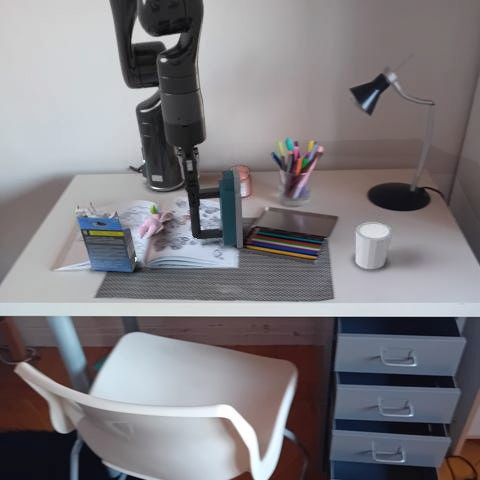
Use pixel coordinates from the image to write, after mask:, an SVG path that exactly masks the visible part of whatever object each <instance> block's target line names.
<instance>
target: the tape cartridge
mask: <svg viewBox="0 0 480 480" xmlns="http://www.w3.org/2000/svg"><path fill="white" fill-rule="evenodd" d="M76 220H77V222H78V227H79V231H80V233H81V236H82V239H83V240H82V241H83V242H84V246H85V249H86V252H87V255H88V259H89V263H90V266H91V269H92V271H107V272H119V273H120V272H122V273H133V272H134V271H135V269H136V267H137V266H138V263H139V262H138V260H137V261H136V262H135V257H137V252H136V247H135V244H134V238H133V235H132V231H131V228H130V227H122V225H121V221H120V219H119V218H118V219H113V218H92V217H88V216H85V217H83V216H76ZM97 222H100V223H99V224H105V225H94V224H98V223H97Z"/></svg>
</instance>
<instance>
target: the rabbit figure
mask: <svg viewBox="0 0 480 480" xmlns="http://www.w3.org/2000/svg"><path fill="white" fill-rule="evenodd" d="M164 212H165V211H162V210H161V211H160V210H158V208H156V205H155V204H153V205H152V206H151V208H150V214H151V217H148V218H146V219H147V220H144V221H143V223H142V225H143V226H142V225H141V226H140V227H138V229H137V234H138V235H137V236H138V238H139V239H140V240H142V239H143V238H144V236H145V235H146V239H147V240H149V239H150V238H151V237H152V235H154V236H155V235H156V234H155V233H156V232H157V231H158V230H159V229H160V227H161V224H163V223H161V222H160V221H159V220H160V218H161V216H162V214H163V213H164ZM152 217H153V218H152ZM146 232H147V233H146Z"/></svg>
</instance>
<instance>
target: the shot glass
mask: <svg viewBox="0 0 480 480" xmlns="http://www.w3.org/2000/svg"><path fill="white" fill-rule="evenodd" d="M392 237H393V229H392V228H391V227H390V226H389V225H387V224H385V223H381V222H377V221H367V222H363V223H361V224H358V225H357V226H356V228H355V263H356V264H357V266H358V267H360V268H363V269H365V270H378V269H380V268H382V267H384V265H385V263H386V259H387V256H388V252H389V248H390V244H391V240H392Z"/></svg>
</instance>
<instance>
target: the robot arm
mask: <svg viewBox="0 0 480 480" xmlns="http://www.w3.org/2000/svg"><path fill="white" fill-rule="evenodd" d="M108 1H109V6H110V10H111V15H112V20H113V26H114V33H115V41H116V47H117V53H118V60H119V66H120V71H121V76H122V79H123V81H124V84H125V86H126V87H127V88H128V89H130V90H142V89H151V88H157V89H156V91H155V92H154V93H153V94H152V95H151V96H150V97H148V98H146V99H144V100H142V101H140V102H139V103H138V104H137V105H136V106H135V110H134V111H135V116H136V122H137V127H138V132H139V137H140V143H141V148H140V149H141V155H142V161H143V164H141V165H140V166H139V167H137V168H136V167H134V166H132V165H129V169H130V170H132V171H134V172H140V171H141V173H142V177H144V178H146V182H147V184H148V188H149V189H150V190H152V191H155V192H170V191H174V190H177V189H180V188H181V187H183V186H184V185H185V186H184V189H185V191H186V194H187V201H188V208H189V207H190V208H196V207H199V208H200V207H201V199H200V198H199V189H201V186H200V184H199V178H200V177H201V172H200V152H199V146H198V145H201V144H203V143H204V142H205V141H206V140H207V126H206V117H205V116H206V115H205V106H204V98H203V93H202V89H201V81H200V70H199V69H200V68H199V52H200V43H201V35H202V31H203V24H204V15H205V5H204V0H108ZM137 18H138V22H139V24H140V26H141V28H142V30H143V31H144V32H145V33H146V34H147V35H149V36H151V37H153V38H161V37H167V36H173V35H179V38H178V40H177V43H176V44H175V45H173V46H172V47H170V48H168V49H167V46H166V45H165V43H164V42H163V41H160V40H151V41H142V42H141V41H140V42H133V43H132V41H133V34H134V33H133V32H134V28H135V25H136V22H137Z"/></svg>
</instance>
